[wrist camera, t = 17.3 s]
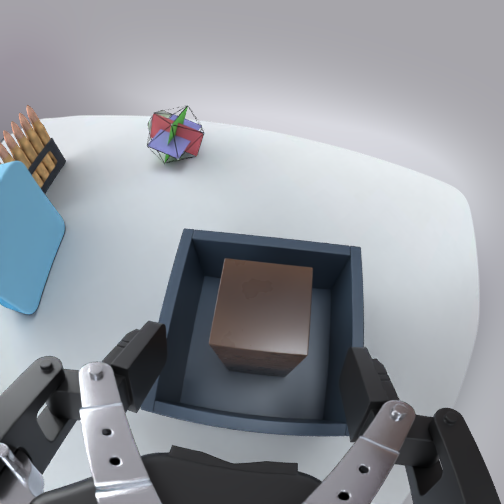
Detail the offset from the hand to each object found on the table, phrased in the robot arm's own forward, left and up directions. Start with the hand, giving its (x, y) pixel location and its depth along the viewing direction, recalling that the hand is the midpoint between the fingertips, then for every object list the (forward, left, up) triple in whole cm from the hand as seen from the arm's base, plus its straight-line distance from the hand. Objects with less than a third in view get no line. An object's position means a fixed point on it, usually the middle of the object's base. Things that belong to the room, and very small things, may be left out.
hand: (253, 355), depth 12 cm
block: (0, -2, -10) cm, 10 cm away
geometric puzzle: (+18, -20, -11) cm, 30 cm away
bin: (0, -3, -11) cm, 11 cm away
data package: (+26, 0, -11) cm, 29 cm away
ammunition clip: (+37, -10, -11) cm, 39 cm away
